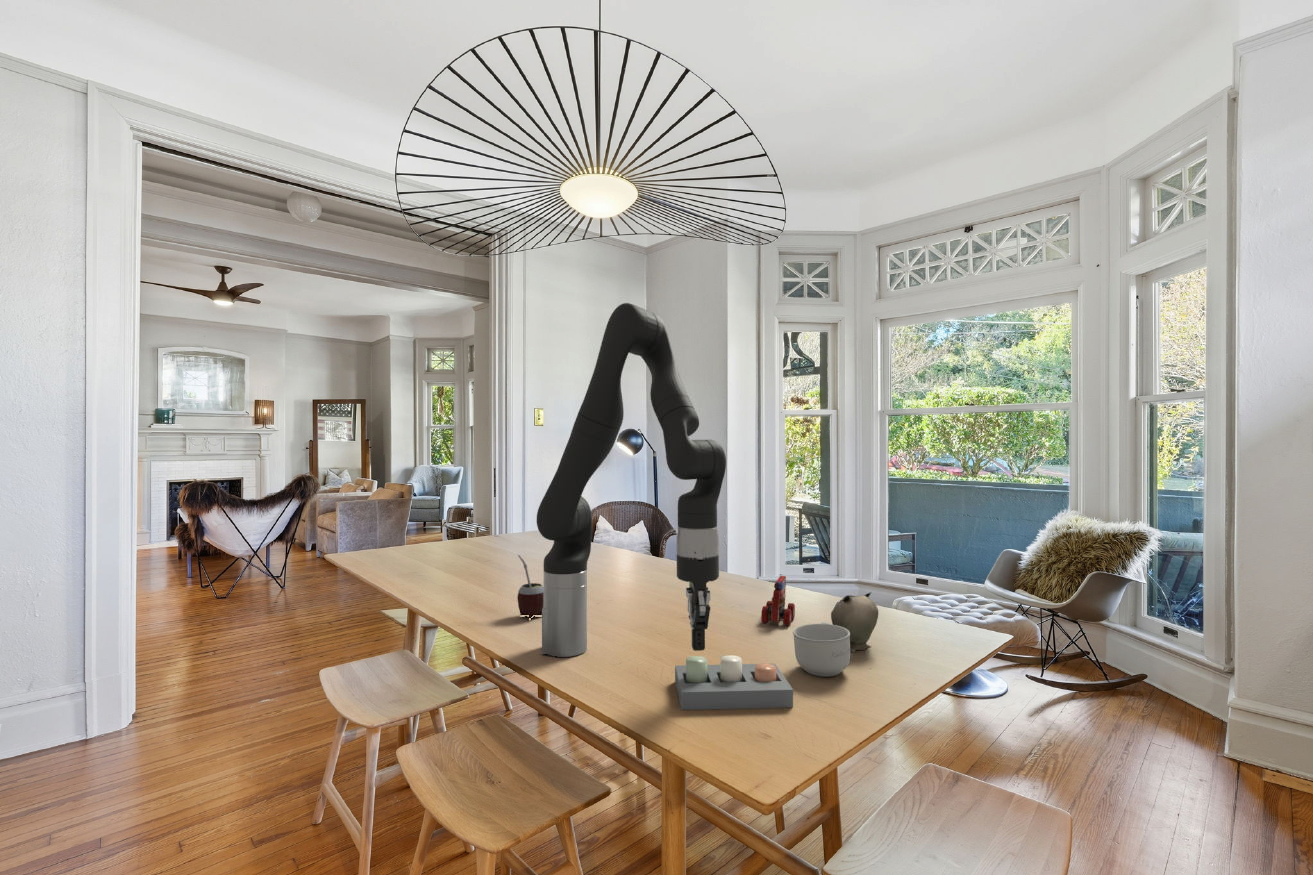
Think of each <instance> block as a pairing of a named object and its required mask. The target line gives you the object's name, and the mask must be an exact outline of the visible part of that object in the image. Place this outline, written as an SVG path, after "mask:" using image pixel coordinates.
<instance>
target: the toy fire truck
mask: <svg viewBox="0 0 1313 875" xmlns="http://www.w3.org/2000/svg"><path fill="white" fill-rule="evenodd" d="M786 586H787V576H786V575H780V576H779V577H778V578H777V580H776V582H775V583H774V585H773V587H774V590H773V594H772V597H771V600H767V601H766V605H763V606H762V607H761V608H762V609H761V614H760V615H761V617H760V619H761V623H762V624H769V623H770V622H772V623H776V624H777V623H779V622H781V620H782V622H783V625H784V626H786V627H790V626H791V624H792V621H793V620H795V615H796V605H795V603H794V602H789V603H787V607H786V597H787V596H786Z"/></svg>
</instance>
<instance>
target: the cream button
mask: <svg viewBox="0 0 1313 875" xmlns="http://www.w3.org/2000/svg"><path fill="white" fill-rule="evenodd" d="M719 662H720V664H719V665H720V682H742V664H743V659H742V658H741V657H740V656H738V655H731V654H730V655H723V656H721V657H720V661H719Z"/></svg>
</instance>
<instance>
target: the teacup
mask: <svg viewBox="0 0 1313 875" xmlns="http://www.w3.org/2000/svg"><path fill="white" fill-rule="evenodd" d="M792 634H793V645H794V654H795V659H796V662H797V664H798V665H799V666H800V668H802V669H803V670H805V672H807V673H808V674H809V675H813V676H816V677H824V678H825V677H834V676H837V675H840V674H841V673H842V671H844V670H846V668H847V667H848V666H849V664H850V660H851V652H850V632H849V630H847V629H846V628H844V627H841V626H837V625H833V624H830V623H829V622H828V621H822V622H821V623H809V624H803V625H799V626H797V627H795V628H793V630H792Z"/></svg>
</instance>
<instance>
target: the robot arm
mask: <svg viewBox="0 0 1313 875" xmlns="http://www.w3.org/2000/svg"><path fill="white" fill-rule="evenodd" d="M673 352H674V351H673V349H672V345H671V341H670V337H669V334H668V330H667V327H666V324H665V322H664V321H663V319H662V318H661V317H660V316H659V315H658V314H656V313H654V312H651V311H649V310H647V309H645V308H643V307H640V306H638V305H635V304H632V303H629V302H623V303H621V304H619V305H618V306H617V307H616V308H615V309H614V310H613V312H612V313H611V314H610V317H609V319H608V321H607V324H606V326H605V330H604V332H603V336H602V339H601V344H600V348H599V351H598V355H597V359H596V363H595V366H594V369H593V372H592V375H591V378H590V381H589V384H588V387H587V390H586V392H585V395H584V399H583V401H582V403H581V405H580V407H579V410H578V412H577V415H576V418H575V420H574V423H573V426H572V429H571V432H570V435H569V438H568V440H567V443H566V446H565V447H564V448H565V449H564V450H563V454H562V456H561V458H560V462H559V464H558V466H557V469H556V471H555V474H554V476H553V478H552V480H551V481H550V483H549V486H548V488H547V489H546V492H545V494H544V496H543V497H542V499H541V502H540V503H539V506H538V509H537V512H536V527H537V529H538V532H539V534H540V535H541V536H542V537H543V538H544V539H546V540H549V541H553V544H552V547H551V549H550V550H549V551H548V553H547V554H546V555H545V556H544V558H543V587H544V607H543V609H542V618H541V655H542V654H549V655H548V656H550V655H551V657H555V656H557V658H566V657H567V658H568V657H575V656H578V655H581V654H583V653H585V652H586V651H587V650H586V649H588V561H589V558H590V555H591V550H592V532H593V527H592V526H593V519H592V518H593V513H592V510H591V506H590V504H589V502H588V501H587V499H586V498H585V497H583V496H582V495H583V493H584V490H585V488H586V486H587V484H588V482H589V481H590V479H591V477H593V475H594V474H595V472H596V471H597V470H598V469H599V468H600V467H601V465H602V463H604V461H605V460H606V458H607V457H608V455H609V454H610V453H611V451H612V449H613V447H614V445H615V443H616V440H617V437H618V435H619V433H620V431H621V427H622V426H623V422H624V417H625V416H624V410H625V409H624V402H623V400H624V399H623V394H622V386H621V385H622V375H623V374H622V373H623V369H624V367H625V363H626V360H627V359H628V355H629V354H632V355H634V356H638V357H641V359H642V360H643V361H644V363H645V365H646V366H647V368H648V370H649V372H650V375H651V384H650V386H651V387H650V392H649V393H650V396H649V397H650V401H651V402H650V403H651V406H652V409H653V411H654V414H655V416H656V418H657V421H658V423H659V424H660V427H661V430H662V434H663V435H662V436H663V442H664V448H665V457H666V458H665V459H666V465H667V467H668V469H669V471H670V472H671V474H672V475H673V476H675V477H676V478H677V479H679V480H684V481H686V480H687V481H691V480H695V484H694V487H693V489H692V490H690V491H688V492H686V493H682V494H681V495H680V496H679V497H678V499H677V500H678V501H677V532H676V533H677V534H676V540H675V541H676V578H677V579H678V580H680V581H682V582H687V583H688V587H685V596H686V598H687V599H686V600H687V601H686V602H687V605H686V606H687V607H686V608H687V612H688V619H689V625H690V628H691V648H692V650H693V651H694V652H695V651H696V652H697V651H699V652H700V651H701V652H702V651H705V649H706V630H708V627H709V621H710V613H711V606H710V601H711V590H709V587H708V586H707V584H708V583H709V582H714V581H716V580H718V579H719V578H720V548H719V546H720V542H719V533H718V532H719V531H718V507H717V506H718V502H719V498H720V494H721V489H722V486H723V481H724V478H725V474H726V469H727V457H726V453H725V450H724V448H723V446H722V445H721V443H719V442H718V441H716V440H714V439H691V438H690V436H692V435H693V434H694V433H696V432H697V430H698V429H699V427H700V419H699V416H698V413H697V411H696V409H695V408H694V405H693V403H692V400H691V399H690V397H689V395H688V392H687V391H686V389H685V386H684V384H683V381H682V378H681V376H680V373H679V370H678V367H677V363H676V359H675V356H674V353H673Z"/></svg>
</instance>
